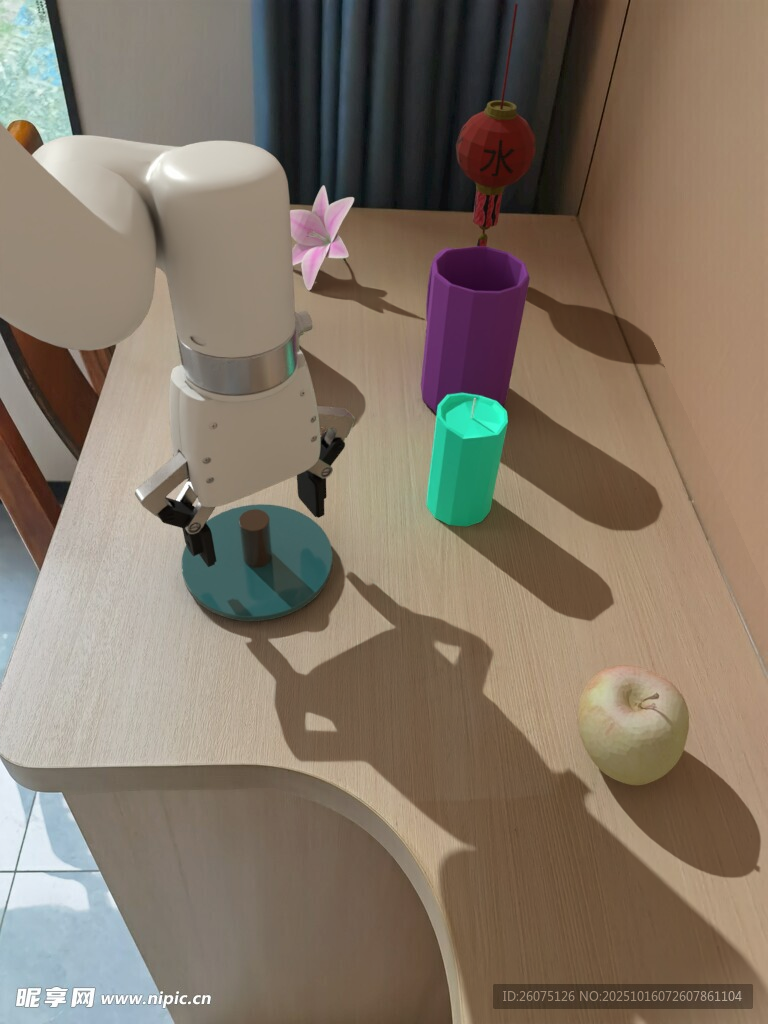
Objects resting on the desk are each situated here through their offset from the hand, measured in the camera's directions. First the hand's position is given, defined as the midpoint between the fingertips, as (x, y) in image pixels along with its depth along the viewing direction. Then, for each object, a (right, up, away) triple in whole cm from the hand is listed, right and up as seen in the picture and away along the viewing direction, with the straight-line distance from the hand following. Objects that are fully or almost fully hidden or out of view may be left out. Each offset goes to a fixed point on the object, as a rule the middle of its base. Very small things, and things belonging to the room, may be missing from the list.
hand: (259, 529), depth 64 cm
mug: (+17, +16, +23) cm, 33 cm away
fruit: (+27, -16, -7) cm, 32 cm away
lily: (+2, +32, +39) cm, 51 cm away
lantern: (+22, +34, +41) cm, 58 cm away
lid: (-1, -3, +3) cm, 4 cm away
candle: (+17, +2, +10) cm, 20 cm away
